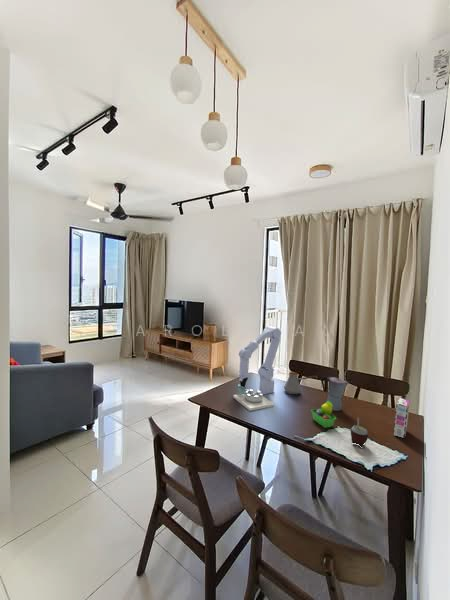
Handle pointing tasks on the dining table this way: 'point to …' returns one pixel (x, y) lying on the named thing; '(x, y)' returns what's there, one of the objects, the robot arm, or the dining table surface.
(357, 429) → the mate gourd
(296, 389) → the coffee pot
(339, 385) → the moka pot
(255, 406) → the base plate
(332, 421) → the fruit basket
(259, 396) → the teal elongated tool
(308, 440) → the dining table surface
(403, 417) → the candy bar box
